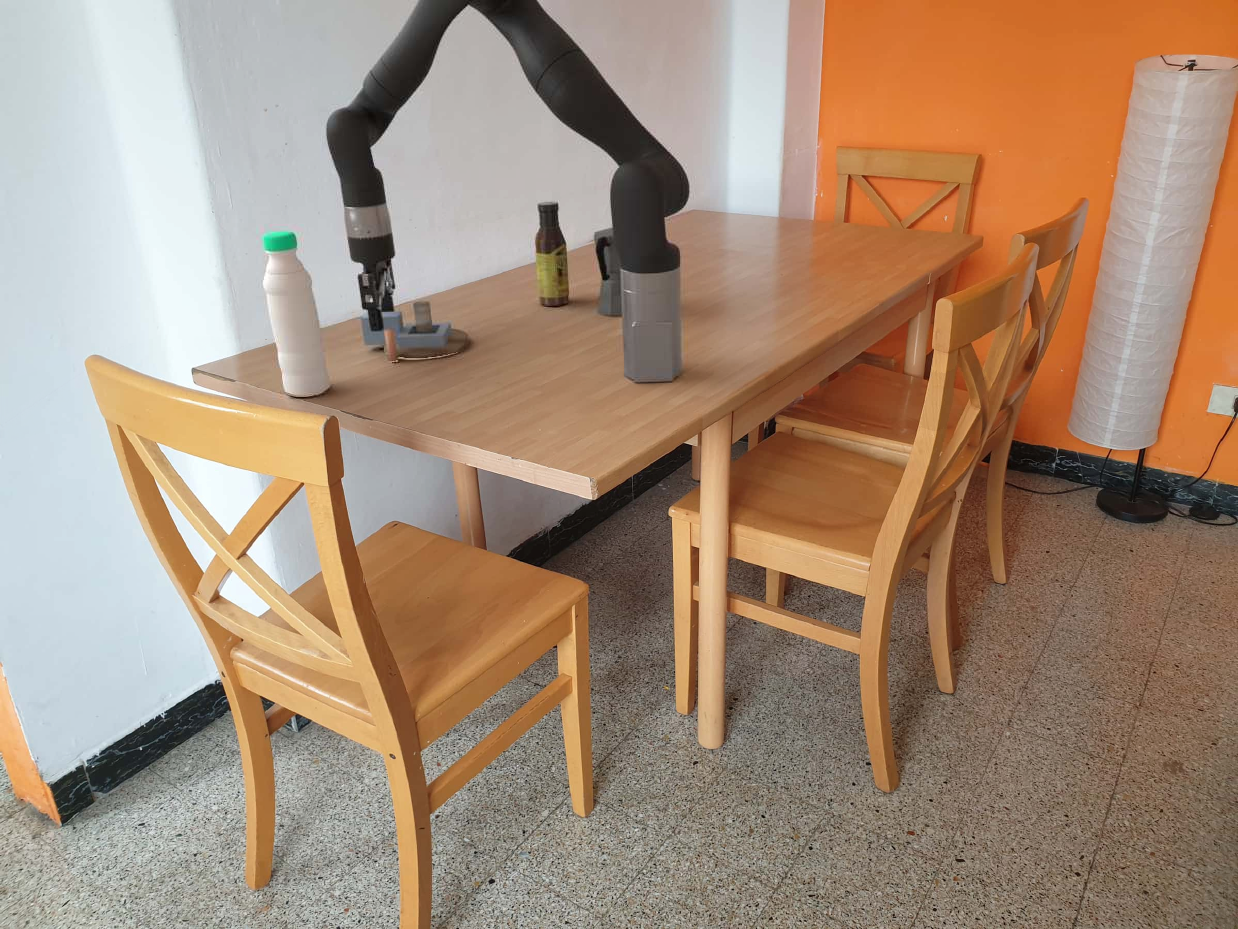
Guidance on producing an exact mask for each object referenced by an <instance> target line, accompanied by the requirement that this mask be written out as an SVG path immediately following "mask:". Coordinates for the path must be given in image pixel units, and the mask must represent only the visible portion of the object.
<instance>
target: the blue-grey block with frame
mask: <svg viewBox="0 0 1238 929" xmlns="http://www.w3.org/2000/svg"><path fill="white" fill-rule="evenodd" d="M402 312H403V311H400V310H399V311H395V312H382V317H383V324H384V329H383V330H382V331H374V332H373V331H371V329H370V323H369V317H368V312H364V314H362V316H361V317H360V323H361V328H362V329H361V330H362V334H363V343H364V345H365V346H378V345H379V346H381V345H382V346H383V345H386V339H385V333H384V331H385V330H389V329H392V330H394V334H395V341H396V344H398V347H399V348H418V347H444V346H445V344H446V342H447V341H448V339H449V337H450V335H451V333H452V331H451V329H452V325H451V322H450V321H447V322H446V321H445V322H432V326H433V333H429V334H417V327H416V322H415V323H406V324H405V326H404V321H403V313H402Z"/></svg>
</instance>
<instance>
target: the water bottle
mask: <svg viewBox="0 0 1238 929" xmlns="http://www.w3.org/2000/svg"><path fill="white" fill-rule="evenodd" d="M262 245H263V248H264V250H265V253H266V254H267V255H268V256H269V258H268V262H267V265H266V271H265V274H264V277H263V282H262V285H263V290H264V291H265V293H266V299H267V300H266V301H267V309H268V314H269V319H270V325H271V329H272V330H271V331H272V334H273V337H274V341H275V344H276V345H275V346H276V348H277V358H278V364H279V367H280V370H281V376H282V377H281V378H282V385H283V391H284V390H285V391H284V393H285V392H287V393H290V394H294V395H311V394H317V393H321V392H323V391H325V390H327V389H328V388H329V389H330V387H331V380H330V376H329V371H328V368H327V366H326V365H327V364H326V363H327V362H326V361H327V360H326V354H325V349H324V346H323V344H322V332H321V327H320V326H321V325H320V320H319V314H318V309H317V304H316V300H315V299H316V298H315V297H314V296H315V295H314V292H313V288H312V286H313V279H312V277H311V275H310V273H309V272H308V270H307V269H306V268H305V267H304V264H303V262H302V261H301V260H300V259H299V258H298V256H297V253H296V252H297V251H298V240H297V236H296V234H295V233H294V232H292V231H286V230H283V231H282V230H281V231H273V232H269V233H266V234H264V235H263V236H262ZM329 389H328V390H329ZM328 390H327V391H328Z"/></svg>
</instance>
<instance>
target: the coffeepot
mask: <svg viewBox="0 0 1238 929" xmlns="http://www.w3.org/2000/svg"><path fill="white" fill-rule="evenodd" d="M593 240H594V243H595V254H596V258H597V262H598V267H599V272H600V277H601V279H600V281H601V282H600V291H599V299H598V309H597V313H599V314H600V315H602V316H607V317H613V318H614V317H615V318H616V317H617V318H619V317H621V318H622V301H621V273H620V258H619V255H618V253H617V251H616V248H615V245H614V239H613V228H612V227H610V228H606V229H601V230H598V231H595V232H594V234H593Z"/></svg>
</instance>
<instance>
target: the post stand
mask: <svg viewBox="0 0 1238 929" xmlns="http://www.w3.org/2000/svg"><path fill="white" fill-rule="evenodd" d="M430 303H431V302H430V301H428V300H418V301H415V302H413V304H412V305H413V311H414V312H413V313H414V320H415V323H416V327H417V334H429V333H433V326H432V323H433V321H432V320H433V318H432V313H431V312H432V311H431V304H430ZM451 331H452V333H451V335H450V337H449V339H448V341H447V342H446V344H445V346H444V347H418V348H399V347H398V344H396V348H397V355H398V357H404V358H428V357H437V356H443V355H448V354H452V353H456V352H459V351H461V350H463V349H465V348H466V347H467V346H468V345H469V346H470V338H469V334H468V333H466V332H465V331H463V330H461V329H455V328H451ZM382 346H383V351H384V350H385V352H386V353H387V346H386V345H382ZM469 346H468V347H469ZM468 347H467V348H468ZM467 348H466V349H467ZM466 349H465V350H466ZM463 351H464V350H463ZM385 352H384V353H385ZM461 352H462V351H461ZM459 353H460V352H459Z"/></svg>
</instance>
